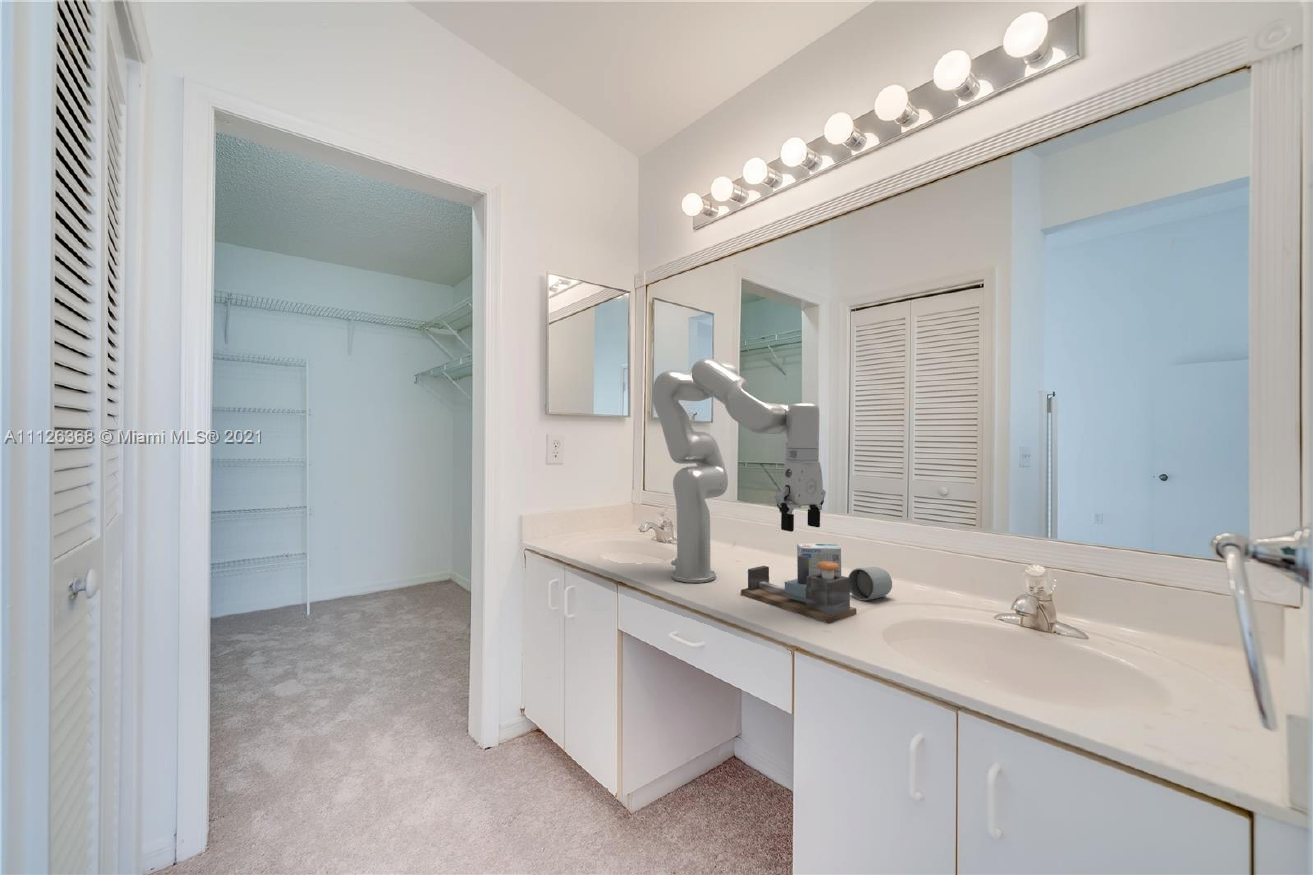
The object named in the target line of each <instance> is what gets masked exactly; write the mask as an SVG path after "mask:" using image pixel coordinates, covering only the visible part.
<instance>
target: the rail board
mask: <svg viewBox="0 0 1313 875" xmlns="http://www.w3.org/2000/svg"><path fill="white" fill-rule="evenodd" d="M806 590H807V602H803V601H800V600H797V599H793V598H790V597H787V593H786V592H785V586H780V585H777V584H774V583H770V566H767V565H760V566H755V567H751V568H747V588H742V589H740V595H742V596H744V597H748V598H751V599H754V600H757V601H760V602H763V603H767V604H769V605H772V604H773V605H772V606H774V607H775V606H776V607H778V608H782V609H784V610H787V609H788V610H787V611H790V610H791V611H790V612H793V613H797V614H800V615H803V616H805V617H808V618H812V619H814V618H815V620H817V619H818V620H817V621H821V622H824V623H827V624H831V623H834V622H838V621H840V620H844V619H846V618H849V617H851V616H855V615H857V608H856V607H853V606H850V605H851V592H850V578H848V576H843V575H841V576H840V575H836V574H834V580H826V579H822V573H818V574H814V575H810V576H806Z"/></svg>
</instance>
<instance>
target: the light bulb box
mask: <svg viewBox="0 0 1313 875" xmlns="http://www.w3.org/2000/svg"><path fill="white" fill-rule="evenodd" d="M796 551H797V553H796V556H808V557H809V576H810V575H814V574H818V573H822V570H821V569H818V565H817V563H818V562H822V561H828V562H835V563H837V564H838V570H834V574H836V575H840V576H842V547H840V546H839V545H838V544H836V543H834V542H833V543H832V542H831V543H825V542H824V543H821V542H820V543H817V542H815V543H813V542H811V543H810V542H809V543H807V542H806V543H805V542H804V543H803V542H802V543H801V542H797V543H796Z"/></svg>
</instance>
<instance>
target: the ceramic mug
mask: <svg viewBox="0 0 1313 875" xmlns="http://www.w3.org/2000/svg"><path fill="white" fill-rule="evenodd" d="M847 577H848V578H850V594H851V595H852V596H853V597H854V598H856V600H858V601H862V602H866V601H871V600H874V599H879V598H882V597H886V596H887V595H889V593H890V592H891V590H892V589H893V581H892V577H891V575H890V574H889V572H888V571H887V570H885V569H883V568H881V567H876V566H871V567H858V568H854V569H853V570H852V571H850V572H849V574H848V576H847Z"/></svg>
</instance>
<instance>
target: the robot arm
mask: <svg viewBox="0 0 1313 875" xmlns="http://www.w3.org/2000/svg"><path fill="white" fill-rule="evenodd" d="M738 371H739V370H738V369H737V367H736V366H735V365H734V364H732V363H731V362H730V361H727V360H726V361H725V360H721V359H715V358H702V359H699V360H698V361H696V362H694V364H693V365H692V367H691V370H690V371H689V372H688V371H681V370H667V371H663V372H661V373H659V375H657V376H656V377H655V380H654V382H653V385H652V387H651V388H652V389H651V397H652V398H651V400H652V403H653V407H654V410H655V412H656V415H657V417H658V419H659V422H660V425H661V429H662V432H663V437H664V439H665V443H666V447H667V450H668V453H669V456H670V459H671V461H673V462H675V463H676V464H683V465H688V464H689V465H690V464H696V465H690V466H686V467H682V468H681V469H679V470H678V471H677V472H676V473H675V475H674V476H673V478H672V488H673V494H674V498H675V499H674V500H675V504H676V505H675V506H676V558H674V559H673V560H671V562H670V564H671V565H672V566H675V567H674V568H675V569H674V570H673V571H672V572H671V578H672V579H673V580H675V581H678V582H680V583H681V582H683V583H691V584H696V583H697V584H698V583H701V584H702V583H708V582H713V581H714V580H716V578H717V573H716V572H715V571H713V570H712V569H711V568H712V567H711V515H710V514H711V513H710V510H709V506H708V504H707V502H706V499H713V498H718V497H721V496H723V495H724V494H726V492H727V490H728V486H729V478H728V474H727V469H726V467H725V463H724V461H723V457H722V454H721V451H720V447H719V445H718V443H717V441H716V439H715V438H714V436H712V435H711V434H710V433H709V432H705V431H695V430H694V428H693V426H692V424H691V419H690V417H689V414H688V413H687V411H686V410H685V408H684V407H683V406H682V405H681V403H680V401H686V402H687V401H688V402H700V401H705V400H708V399H711V398H714V399H716V400H717V401H718V402H719V403H722V404H723V405H724V407H725V410H726V411H727V413H728V415H729V416H730V417H731V419H733V420H734V421H735V422H737V423H738V424H740V425H741V426H742V427H744V428H745V429H747V430H748V431H750V432H752V433H755V434H758V435H760V434H761V435H785V461H784V465H783V471H782V477H781V478H782V480H781V490H779V491H778V492H777V493H776V494H775V495H774V498H775V502H776V506H777V508H778V509H779V511H778V512H779V513H781V515H780V529H781V530H782V531H785V532H790V533H792V532H794V530H795V528H794V526H795V524H794V523H795V519H794V518H795V514H794V513H793V511H794V510H795V509H796V506H799V507H800V506H801V507H803V506H808V508H807V526H808V527H812V528H813V527H814V528H820V527H821V511H822V510H823V504H824V503H825V497H826V492H827V491H826V490H825V489H824V487H823V485H824V484H823V472H822V466H821V465H822V464H821V462H820V461H819V457H820V453H819V452H820V448H819V446H820V408H819V406H818V405H817V404H815V403H810V402H809V403H808V402H807V403H806V402H801V403H800V402H799V403H790V404H782V403H774V402H773V403H772V402H763V401H760V400H759V399H757V398H755V397H754V396H752V395H751V394H750V393H748V389H749V384H748V381H747V380H746V379H745V378H743V377H742V376H740V374H739V372H738Z"/></svg>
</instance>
